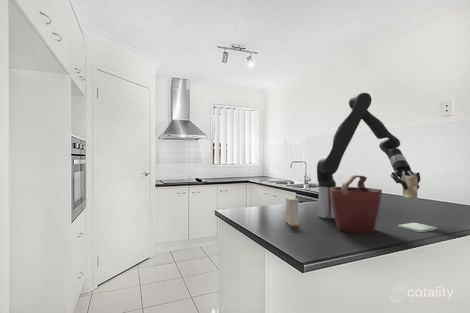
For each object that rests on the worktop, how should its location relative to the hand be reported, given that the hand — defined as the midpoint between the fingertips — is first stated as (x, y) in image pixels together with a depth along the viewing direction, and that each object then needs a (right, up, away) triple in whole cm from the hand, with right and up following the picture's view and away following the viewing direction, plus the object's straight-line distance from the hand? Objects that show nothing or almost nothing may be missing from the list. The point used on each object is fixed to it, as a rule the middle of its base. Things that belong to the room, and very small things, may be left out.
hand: (412, 188), depth 129 cm
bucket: (-32, -18, -9) cm, 38 cm away
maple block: (0, -5, +2) cm, 5 cm away
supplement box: (-60, -18, +1) cm, 62 cm away
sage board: (-3, -18, -8) cm, 20 cm away
